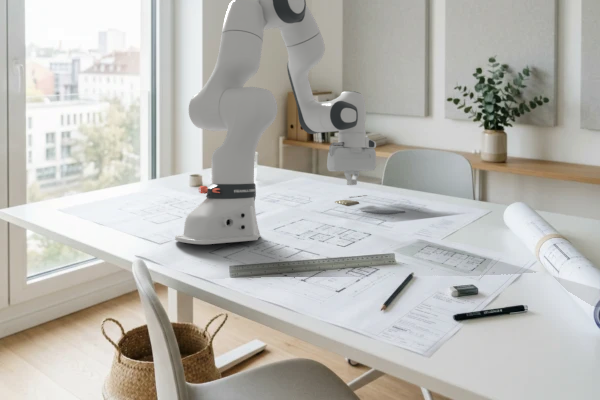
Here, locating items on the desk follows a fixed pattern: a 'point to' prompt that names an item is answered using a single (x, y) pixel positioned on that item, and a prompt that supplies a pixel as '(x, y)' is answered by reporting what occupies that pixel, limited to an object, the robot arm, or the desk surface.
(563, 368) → the desk surface
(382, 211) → the felt pad
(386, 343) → the desk surface
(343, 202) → the cuneiform tablet
